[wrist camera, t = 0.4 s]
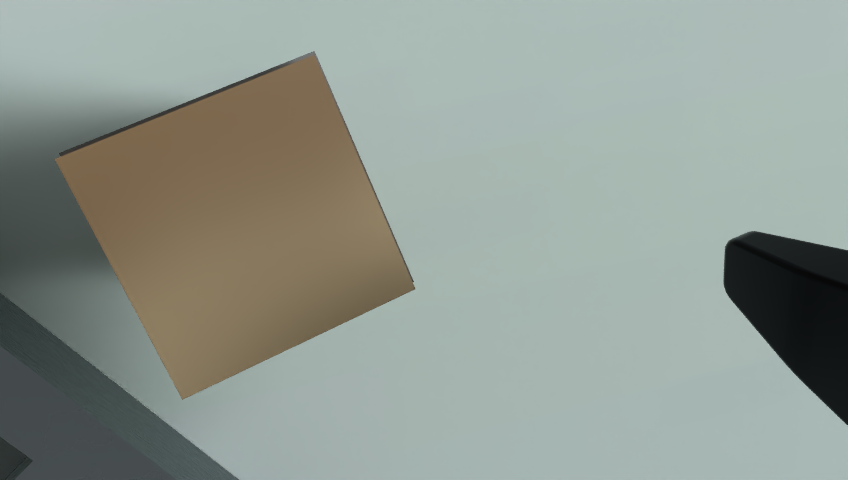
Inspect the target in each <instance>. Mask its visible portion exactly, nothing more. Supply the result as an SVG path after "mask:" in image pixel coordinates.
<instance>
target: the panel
mask: <svg viewBox="0 0 848 480" xmlns="http://www.w3.org/2000/svg"><path fill="white" fill-rule="evenodd" d="M0 437H1V438H2V439H4V440H5V441H6V442H8V443H9V444H11V445H12V446H13V447H15V448H16V449H18V450H19V451H20V452H22V453H23V454H25V455H26V456H27V458H26V459H25V460H24V461H23V462H22V463H21V464H20V465H19V466H18V467H17V468H16V469H15V470H14V471H13V472H12V473H11V474H10V475H9V476H8V477H7V478H6V479H5V480H238V479H237V478H236V477H234V476H233V475H232V474H231V473H229V472H228V471H227V470H226V469H224V468H223V467H222V466H220V465H219V464H218V463H217V462H215V461H214V460H213V459H211V458H210V457H209V456H208V455H206V454H205V453H204V452H203V451H201V450H200V449H199V448H197V447H196V446H195V445H194V444H192V443H191V442H190V441H188V440H187V439H186V438H185V437H183V436H182V435H181V434H179V433H178V432H177V431H176V430H174V429H173V428H172V427H171V426H169V425H168V424H167V423H165V422H164V421H163V420H162V419H160V418H159V417H158V416H156V415H155V414H154V413H153V412H151V411H150V410H149V409H148V408H146V407H145V406H144V405H142V404H141V403H140V402H139V401H137V400H136V399H135V398H133V397H132V396H131V395H130V394H128V393H127V392H126V391H125V390H123V389H122V388H121V387H119V386H118V385H117V384H116V383H114V382H113V381H112V380H110V379H109V378H108V377H107V376H105V375H104V374H103V373H102V372H100V371H99V370H98V369H96V368H95V367H94V366H93V365H91V364H90V363H89V362H87V361H86V360H85V359H84V358H82V357H81V356H80V355H78V354H77V353H76V352H75V351H73V350H72V349H71V348H70V347H68V346H67V345H66V344H64V343H63V342H62V341H61V340H59V339H58V338H57V337H55V336H54V335H53V334H52V333H50V332H49V331H48V330H47V329H45V328H44V327H43V326H41V325H40V324H39V323H38V322H36V321H35V320H34V319H32V318H31V317H30V316H29V315H27V314H26V313H25V312H24V311H22V310H21V309H20V308H18V307H17V306H16V305H15V304H13V303H12V302H11V301H9V300H8V299H7V298H6V297H4V296H3V295H2V294H1V293H0Z"/></svg>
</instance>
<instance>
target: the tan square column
mask: <svg viewBox="0 0 848 480" xmlns="http://www.w3.org/2000/svg"><path fill="white" fill-rule="evenodd" d="M59 154H60V156H61V157H58V158H56V159H55V161H56V163H57V165H58V166H59V168H60V170H61V172H62V174H63V176H64V178H65V180H66V181H67V183H68V185H69V187H70V189H71V191H72V193H73V195H74V197H75V198H76V200H77V202H78V204H79V206H80V208H81V210H82V212H83V213H84V215H85V217H86V219H87V221H88V223H89V225H90V227H91V229H92V230H93V232H94V234H95V236H96V238H97V240H98V242H99V244H100V245H101V247H102V249H103V251H104V253H105V255H106V257H107V259H108V261H109V262H110V264H111V266H112V268H113V270H114V272H115V274H116V276H117V278H118V279H119V281H120V283H121V285H122V287H123V289H124V291H125V293H126V294H127V296H128V298H129V300H130V302H131V304H132V306H133V308H134V310H135V311H136V313H137V315H138V317H139V319H140V321H141V323H142V325H143V326H144V328H145V330H146V332H147V334H148V336H149V338H150V340H151V342H152V343H153V345H154V347H155V349H156V351H157V353H158V355H159V357H160V358H161V360H162V362H163V364H164V366H165V368H166V370H167V372H168V374H169V375H170V377H171V379H172V381H173V383H174V385H175V387H176V389H177V390H178V392H179V394H180V396H181V398H182V400H183V399H185V398H187V397H189V396H191V395H193V394H195V393H197V392H199V391H202V390H204V389H206V388H208V387H210V386H212V385H214V384H216V383H218V382H221V381H223V380H225V379H227V378H229V377H231V376H233V375H235V374H237V373H239V372H242V371H244V370H246V369H248V368H250V367H252V366H254V365H256V364H258V363H261V362H263V361H265V360H267V359H269V358H271V357H273V356H275V355H277V354H279V353H282V352H284V351H286V350H288V349H290V348H292V347H294V346H296V345H298V344H301V343H303V342H305V341H307V340H309V339H311V338H313V337H315V336H317V335H320V334H322V333H324V332H326V331H328V330H330V329H332V328H334V327H336V326H338V325H341V324H343V323H345V322H347V321H349V320H351V319H353V318H355V317H357V316H360V315H362V314H364V313H366V312H368V311H370V310H372V309H374V308H376V307H378V306H381V305H383V304H385V303H387V302H389V301H391V300H393V299H395V298H397V297H400V296H402V295H404V294H406V293H408V292H410V291H412V290H414V289H415V287H414V284H413V282H414V281H413V279H412V277H411V274H410V272H409V270H408V267H407V265H406V263H405V260H404V258H403V256H402V253H401V251H400V249H399V246H398V244H397V242H396V239H395V237H394V235H393V232H392V230H391V228H390V226H389V223H388V221H387V219H386V216H385V214H384V212H383V209H382V207H381V205H380V202H379V200H378V198H377V195H376V193H375V191H374V188H373V186H372V184H371V181H370V179H369V177H368V174H367V172H366V170H365V167H364V165H363V163H362V160H361V158H360V156H359V154H358V151H357V149H356V147H355V144H354V142H353V140H352V137H351V135H350V133H349V130H348V128H347V126H346V123H345V121H344V119H343V116H342V114H341V112H340V109H339V107H338V105H337V102H336V100H335V98H334V95H333V93H332V91H331V88H330V86H329V84H328V82H327V79H326V77H325V75H324V72H323V70H322V68H321V65H320V63H319V61H318V58H317V56H316V54H315V51H313V52H311V53H308V54H306V55H303V56H301V57H298V58H296V59H293V60H291V61H288V62H286V63H283V64H281V65H278V66H276V67H273V68H271V69H268V70H266V71H263V72H261V73H258V74H256V75H253V76H251V77H248V78H246V79H243V80H241V81H238V82H236V83H233V84H231V85H228V86H226V87H223V88H221V89H218V90H216V91H213V92H211V93H208V94H206V95H203V96H201V97H198V98H196V99H193V100H191V101H188V102H186V103H183V104H181V105H178V106H176V107H173V108H171V109H168V110H166V111H163V112H161V113H159V114H156V115H154V116H151V117H149V118H146V119H144V120H141V121H139V122H136V123H134V124H131V125H129V126H126V127H124V128H121V129H119V130H116V131H114V132H111V133H109V134H106V135H104V136H101V137H99V138H96V139H94V140H91V141H89V142H86V143H84V144H81V145H79V146H76V147H74V148H71V149H69V150H66V151H64V152H61V153H59Z"/></svg>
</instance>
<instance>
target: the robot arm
mask: <svg viewBox="0 0 848 480" xmlns="http://www.w3.org/2000/svg"><path fill="white" fill-rule="evenodd" d="M724 287H725V290H726V293H727V294H728V296H729V298H730V299H731V300H732V301H733V303H734V304H735V305H736V306H737V307H738V308H739V310H740V311H741V312H742V313H743V314H744V316H745V317H746V318H747V319H748V320H749V321H750V323H751V324H752V325H753V326H754V327H755V329H756V330H757V331H758V332H759V333H760V334H761V336H762V337H763V338H764V339H765V340H766V342H767V343H768V344H769V345H770V346H771V347H772V349H773V350H774V351H775V352H776V353H777V355H778V356H779V357H780V358H781V359H782V360H783V362H784V363H785V364H786V365H787V366H788V367H789V368H790V369H791V370H792V372H793V373H794V374H795V375H796V376H797V377H798V378H799V379H800V380H801V381H802V382H803V383H804V384H805V385H806V386H807V387H808V388H809V389H810V390H811V391H812V392H813V393H815V394H816V395H817V396H818V397H819V398H820V399H821V400H822V401H823V402H824V403H825V404H826V405H827V406H828V407H829V408H830V409H831V410H832V411H833V412H834V413H835V414H836V415H837V416H838V417H839V418H840V419H841V420H843V421H844V422H845V423H846V424H847V425H848V250H844V249H839V248H834V247H829V246H824V245H819V244H815V243H810V242H805V241H800V240H795V239H791V238H786V237H781V236H776V235H771V234H766V233H762V232H756V231H751V232H747V233H745V234H743V235H740V236H738V237H736V238H733V239H731V240H730V241H728V243H727V245H726V246H725V259H724Z"/></svg>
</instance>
